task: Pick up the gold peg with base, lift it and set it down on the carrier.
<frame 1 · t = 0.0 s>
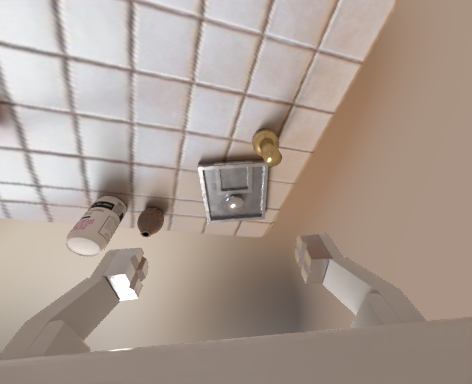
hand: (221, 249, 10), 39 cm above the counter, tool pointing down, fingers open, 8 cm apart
vase: (154, 212, 59), on the counter
carrier: (234, 191, 56), on the counter
gold peg with base: (264, 140, 48), on the counter
supplement can: (112, 204, 56), on the counter
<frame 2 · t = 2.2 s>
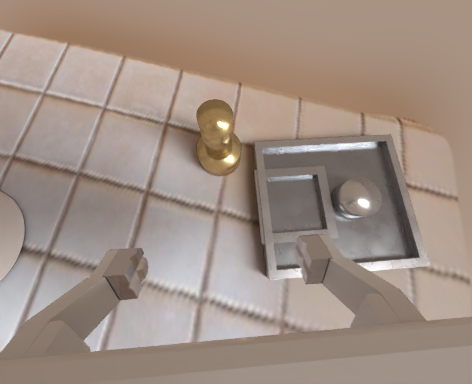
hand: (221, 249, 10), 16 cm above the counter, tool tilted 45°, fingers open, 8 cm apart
carrier: (328, 202, 27), on the counter
gold peg with base: (220, 157, 29), on the counter
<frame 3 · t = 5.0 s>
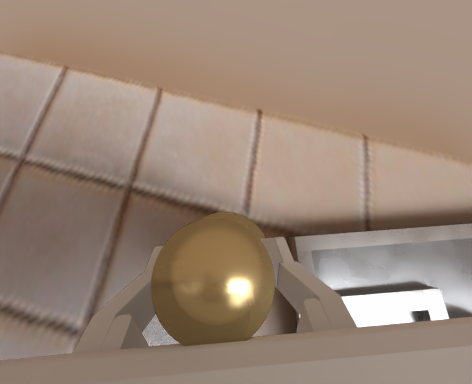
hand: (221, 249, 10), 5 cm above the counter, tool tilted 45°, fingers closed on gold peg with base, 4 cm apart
carrier: (441, 355, 14), on the counter
gold peg with base: (226, 254, 15), on the counter, touching gripper
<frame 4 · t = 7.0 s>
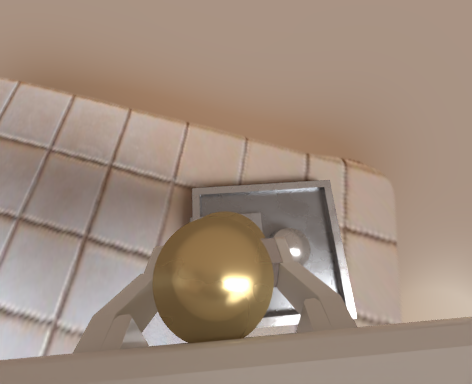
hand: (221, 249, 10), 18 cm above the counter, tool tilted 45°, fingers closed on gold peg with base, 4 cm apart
carrier: (266, 248, 28), on the counter
gold peg with base: (225, 254, 15), point 12 cm above the counter, touching gripper
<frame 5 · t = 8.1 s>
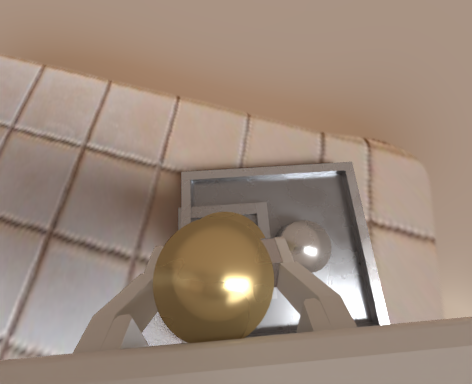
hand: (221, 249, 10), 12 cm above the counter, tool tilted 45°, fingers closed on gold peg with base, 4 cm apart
carrier: (273, 246, 22), on the counter
gold peg with base: (226, 254, 15), point 7 cm above the counter, touching gripper
when the fingers open (8 cm above the counter, at t = 9.1 s): gold peg with base drops 1 cm, resting on carrier.
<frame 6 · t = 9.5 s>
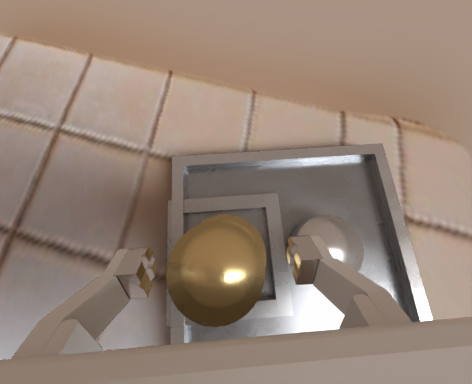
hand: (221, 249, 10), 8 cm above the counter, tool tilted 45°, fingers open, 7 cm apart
carrier: (285, 248, 18), on the counter
gold peg with base: (226, 253, 17), point 1 cm above the counter, touching carrier
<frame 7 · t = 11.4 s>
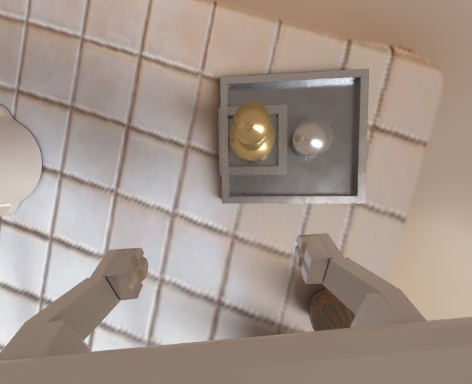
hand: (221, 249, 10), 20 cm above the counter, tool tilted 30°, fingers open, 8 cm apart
vase: (326, 302, 30), on the counter
carrier: (288, 142, 29), on the counter
gold peg with base: (252, 141, 28), point 1 cm above the counter, touching carrier
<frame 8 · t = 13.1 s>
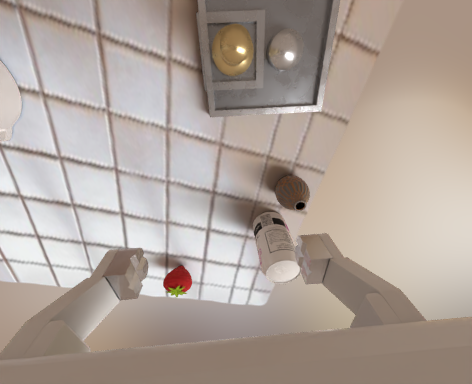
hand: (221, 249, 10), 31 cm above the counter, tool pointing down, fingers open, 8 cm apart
vase: (286, 184, 45), on the counter
carrier: (265, 53, 32), on the counter
gold peg with base: (232, 53, 30), point 1 cm above the counter, touching carrier
strawberry: (181, 265, 57), on the counter
supplement can: (267, 222, 50), on the counter
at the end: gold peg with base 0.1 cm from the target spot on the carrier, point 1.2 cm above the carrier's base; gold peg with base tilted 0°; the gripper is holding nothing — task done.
